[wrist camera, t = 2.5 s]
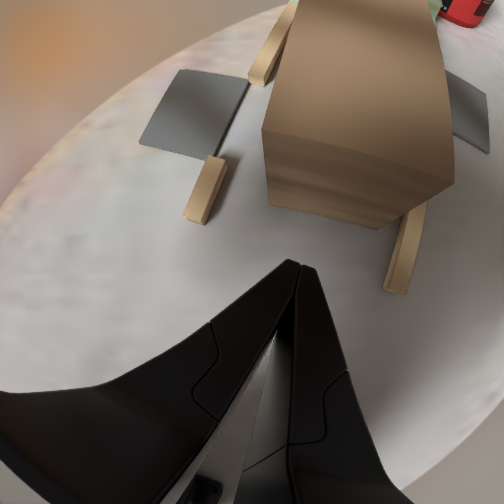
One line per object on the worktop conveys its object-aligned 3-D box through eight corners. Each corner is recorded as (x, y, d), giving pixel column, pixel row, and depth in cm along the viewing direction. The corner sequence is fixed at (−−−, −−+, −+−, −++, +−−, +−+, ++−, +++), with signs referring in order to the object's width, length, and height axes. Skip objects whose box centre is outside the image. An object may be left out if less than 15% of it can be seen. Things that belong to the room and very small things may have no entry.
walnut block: (376, 230, 15) (454, 183, 7) (268, 204, 16) (261, 129, 8) (387, 52, 16) (418, -25, 8) (309, 33, 17) (315, -52, 9)
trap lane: (463, 318, 14) (492, 322, 11) (117, 195, 16) (90, 179, 13) (475, 45, 16) (488, 27, 13) (256, -28, 18) (254, -50, 15)
